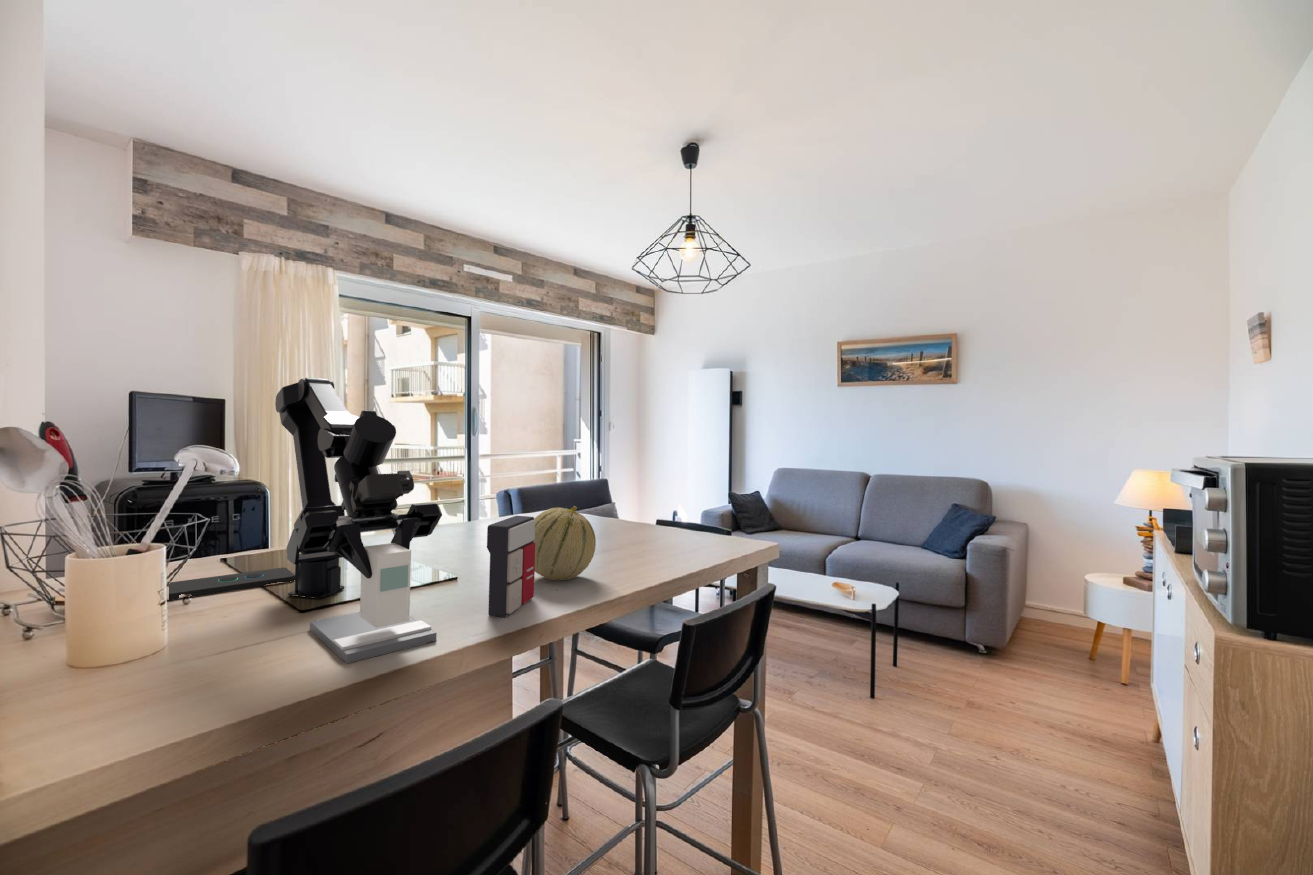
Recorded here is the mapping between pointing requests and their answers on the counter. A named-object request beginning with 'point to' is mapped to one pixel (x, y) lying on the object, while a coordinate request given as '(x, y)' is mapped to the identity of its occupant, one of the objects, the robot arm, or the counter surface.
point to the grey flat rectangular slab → (369, 636)
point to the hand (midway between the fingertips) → (388, 573)
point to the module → (386, 585)
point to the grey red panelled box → (511, 564)
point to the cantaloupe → (562, 543)
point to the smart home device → (229, 582)
